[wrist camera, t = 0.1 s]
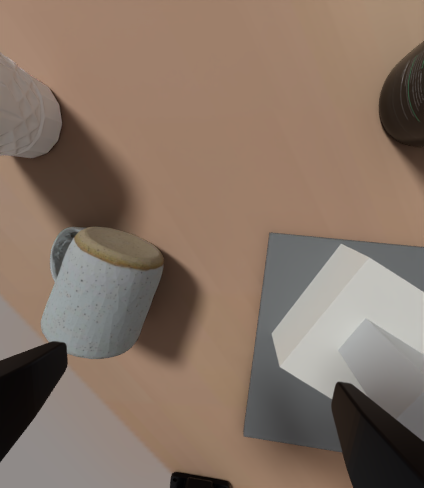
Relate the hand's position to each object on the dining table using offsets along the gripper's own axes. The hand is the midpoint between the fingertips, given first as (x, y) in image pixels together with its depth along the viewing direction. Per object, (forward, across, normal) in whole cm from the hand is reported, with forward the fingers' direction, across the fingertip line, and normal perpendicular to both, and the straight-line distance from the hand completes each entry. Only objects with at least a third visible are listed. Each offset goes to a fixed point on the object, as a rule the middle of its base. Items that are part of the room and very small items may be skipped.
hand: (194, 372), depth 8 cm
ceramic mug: (+15, +10, +2) cm, 18 cm away
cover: (+14, -12, +4) cm, 19 cm away
